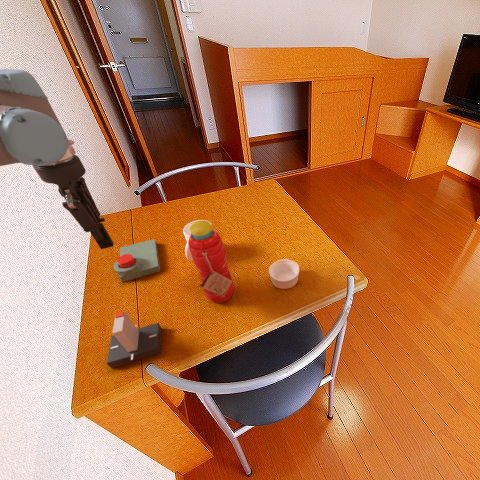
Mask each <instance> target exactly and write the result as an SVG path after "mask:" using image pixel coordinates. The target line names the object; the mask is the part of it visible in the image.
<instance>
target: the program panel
mask: <svg viewBox="0 0 480 480" xmlns="http://www.w3.org/2000/svg"><path fill="white" fill-rule="evenodd" d="M134 325H135V326H136V328H137V329H138V330H139V338H138V348H137V350H135V351H132V352H128V351H127V350H126V349H125V348H124V347H123V345H122V344H121V343H120V342H119V341H118V340H117V338H116V337H115V336H114V335H113V334H112V335H111V337H110V343H109V346H108V347H109V349H108V352H107V353H108V354H107V359H106V364H107V366H109V367H110V368H111V369H114V368H117V367H121V366H125V365H127V364H131V363H134V362H137V361H140V360H144V359H147V358H150V357H154V356H156V355H159V354H162V339H163V338H162V337H163V336H162V335H163V334H162V333H163V327H162V326H161V325H160V323H159V322H157V323H153V324H149V325H146V326H142V327H138V326H137V324H134Z"/></svg>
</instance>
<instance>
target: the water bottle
mask: <svg viewBox="0 0 480 480" xmlns="http://www.w3.org/2000/svg"><path fill="white" fill-rule="evenodd" d="M196 221H197V220H196ZM209 222H210V221H209V220H206V221H197V222H195V223H193V224H192V225H191V227H190V230H191V235H190V238H189V241H188V244H189V250H190V254H191V257H192V258H193V260H194V261H193V264H194V265H195V267H196V269H197V271H198V273H199V276H200V281H201V284H200V285H199V286H200V287H202V289H203V291H204V293H205V295H206V299H208V300H210V301H211V302H213V303H214V304H222V303H225V302H228V301H229V300H230V299H231V297H232V296H233V293H234V290H235V283H234V279H233V277H232V275H231V272H230V269H229V264H228V261H227V251H226V248H225V245H224V242H223V239H222V237H221V235H220V234H219V232H218V231H217V230H215V229H214V227H213V225H211V224H212V223H211V222H210V223H211V224H210V223H209Z"/></svg>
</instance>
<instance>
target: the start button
mask: <svg viewBox="0 0 480 480" xmlns="http://www.w3.org/2000/svg"><path fill="white" fill-rule="evenodd" d="M116 261H117V263H118V264H119V266H120V267H121V268H128V267H131V266H133V265H134V264H135V259H134V257H133V256H132V255H131V254H125V255H122V256H120V255H119V257H117V259H116Z"/></svg>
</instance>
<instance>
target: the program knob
mask: <svg viewBox="0 0 480 480" xmlns="http://www.w3.org/2000/svg"><path fill="white" fill-rule="evenodd" d="M135 325H136V324H135V323H134V322H133V320H132V319H131V317H130V316H129V315H128V313H127V311H121V312H118V313H115V315H114V321H113V327H112V332H111V333H112V336H113V335H114V336H115V337H116V338H117V340H118V341H119V342H120V343H121V344H122V345H123V347H124V348H125V349H126V350H127V351H128V352H132V351H135V350H137V348H138V338H139V330H138V327H136V326H135Z"/></svg>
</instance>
